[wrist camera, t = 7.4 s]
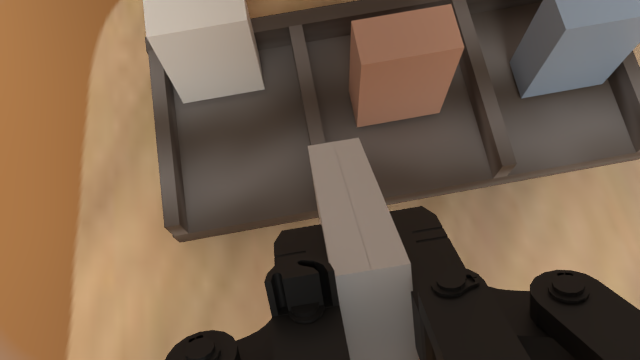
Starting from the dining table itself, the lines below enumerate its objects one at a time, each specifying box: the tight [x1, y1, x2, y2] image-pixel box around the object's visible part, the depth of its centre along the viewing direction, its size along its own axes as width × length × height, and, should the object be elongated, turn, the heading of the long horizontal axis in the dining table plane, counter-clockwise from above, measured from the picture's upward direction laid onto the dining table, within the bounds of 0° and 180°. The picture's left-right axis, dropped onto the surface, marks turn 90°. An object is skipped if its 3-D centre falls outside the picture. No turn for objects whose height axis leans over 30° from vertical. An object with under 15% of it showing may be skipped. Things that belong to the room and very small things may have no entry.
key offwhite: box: [143, 0, 265, 103], centre depth 32 cm, size 2×5×7 cm, turn 100°
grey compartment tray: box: [145, 0, 640, 242], centre depth 35 cm, size 12×28×4 cm, turn 100°
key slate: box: [509, 0, 640, 98], centre depth 32 cm, size 2×5×7 cm, turn 100°
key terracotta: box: [349, 4, 464, 127], centre depth 31 cm, size 2×5×7 cm, turn 100°
